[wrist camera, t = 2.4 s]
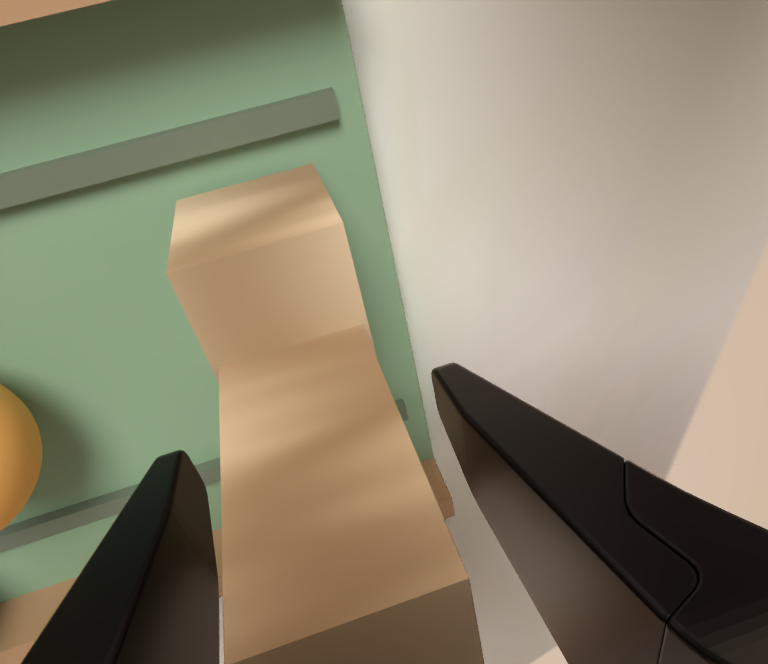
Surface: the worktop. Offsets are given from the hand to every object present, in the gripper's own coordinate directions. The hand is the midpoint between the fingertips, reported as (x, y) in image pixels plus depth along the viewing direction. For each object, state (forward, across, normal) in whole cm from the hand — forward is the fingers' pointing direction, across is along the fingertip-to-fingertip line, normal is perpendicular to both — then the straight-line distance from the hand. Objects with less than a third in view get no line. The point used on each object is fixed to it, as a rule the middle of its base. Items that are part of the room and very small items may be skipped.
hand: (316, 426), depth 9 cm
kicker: (+4, 0, 0) cm, 4 cm away
